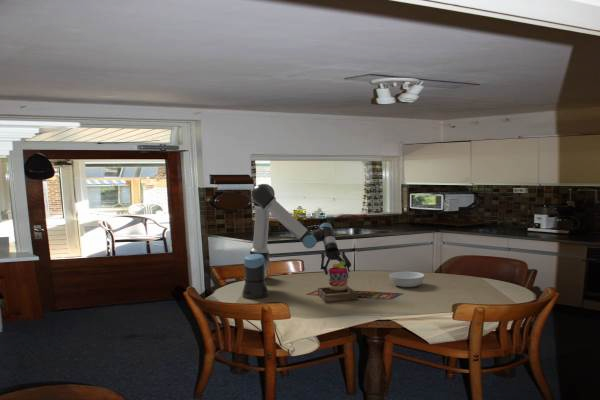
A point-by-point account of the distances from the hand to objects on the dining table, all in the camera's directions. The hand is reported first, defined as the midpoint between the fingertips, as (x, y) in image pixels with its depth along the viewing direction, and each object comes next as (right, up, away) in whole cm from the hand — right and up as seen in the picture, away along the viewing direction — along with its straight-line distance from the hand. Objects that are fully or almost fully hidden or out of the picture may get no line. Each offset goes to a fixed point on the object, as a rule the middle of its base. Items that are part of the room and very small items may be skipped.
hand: (339, 278), depth 257 cm
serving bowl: (+44, -9, +26) cm, 52 cm away
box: (-1, -11, +4) cm, 12 cm away
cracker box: (-48, -10, +54) cm, 73 cm away
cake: (0, -6, +2) cm, 7 cm away
